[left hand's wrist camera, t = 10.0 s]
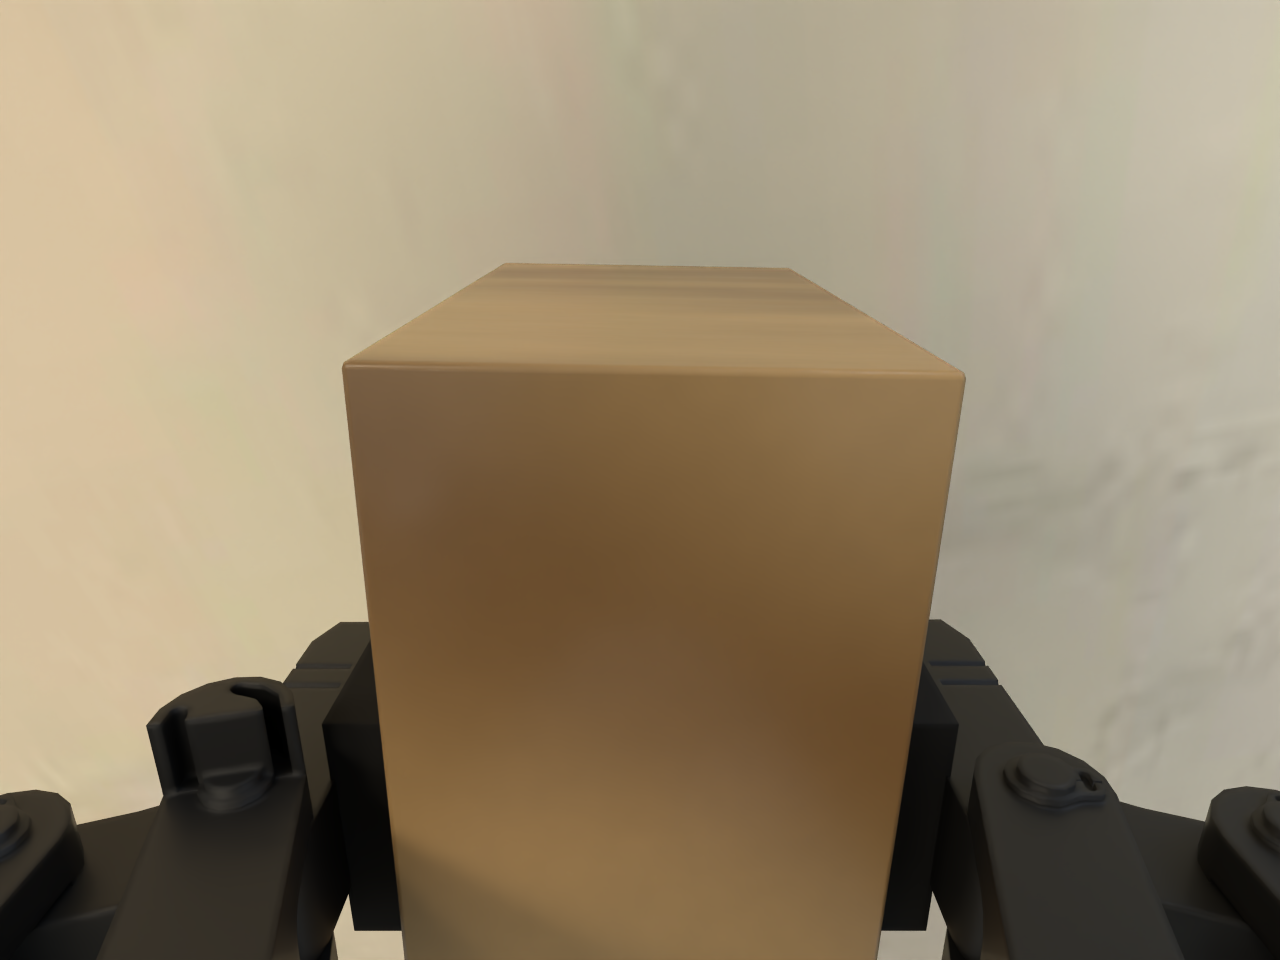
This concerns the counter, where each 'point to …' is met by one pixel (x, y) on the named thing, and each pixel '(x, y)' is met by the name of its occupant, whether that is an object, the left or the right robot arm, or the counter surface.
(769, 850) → the post
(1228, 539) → the counter surface
